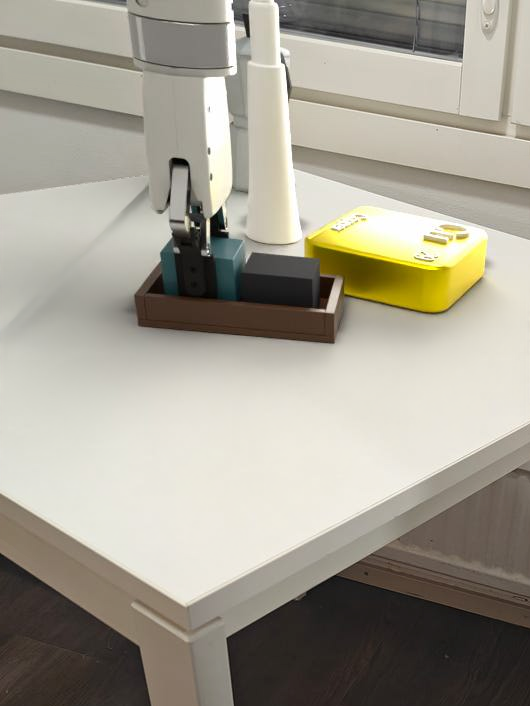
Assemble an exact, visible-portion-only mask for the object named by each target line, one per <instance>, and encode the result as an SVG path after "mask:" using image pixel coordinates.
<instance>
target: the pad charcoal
mask: <svg viewBox="0 0 530 706" xmlns="http://www.w3.org/2000/svg"><path fill="white" fill-rule="evenodd" d="M241 279H242V294H243V302H248V303H259V304H270V305H281V306H292V307H303V308H314V309H318V308H319V305H320V259H318V258H307V257H305V256H295V255H286V254H285V255H284V254H276V253H275V254H274V253H266V252H256V251H255V252H254V251H252V252H251V254H250V256H249V257H248V259H247V261H246V265H245V266H244V268H243V270H242V272H241Z"/></svg>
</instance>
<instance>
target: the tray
mask: <svg viewBox="0 0 530 706" xmlns="http://www.w3.org/2000/svg"><path fill="white" fill-rule="evenodd" d="M133 299H134V305H135V312H136V319H137V325H138V326H139V327H147V328H148V327H150V328H159V329H160V328H161V329H171V330H183V331H195V332H205V333H206V332H207V333H218V334H226V335H227V334H229V335H239V336H240V335H241V336H249V337H261V338H262V337H263V338H272V339H273V338H274V339H283V340H284V339H285V340H296V341H306V342H307V341H308V342H317V343H330V344H335V342H336V337H337V334H338V329H339V326H340V322H341V319H342V314H343V309H344V307H345V294H344V276H341V275H330V274H320V305H319V308H318V309H314V308H303V307H292V306H281V305H270V304H259V303H248V302H243V295H242V297H241V299H240V301H239V302H237V301H226V300H215V299H205V298H194V297H183V296H172V295H165V290H164V282H163V274H162V266H161V260H160V261H159V262H158V263H157V265H156V266H155V267H154V268H153V269H152V271H151V273H149V275H148V276H147V277H146V279H145V280H144V281H143V283H142V284H141V285H140V287H139V288H138V289H137V291H136V292H135V293H134V294H133Z"/></svg>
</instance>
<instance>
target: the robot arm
mask: <svg viewBox="0 0 530 706" xmlns="http://www.w3.org/2000/svg"><path fill="white" fill-rule="evenodd" d="M233 3H234V1H233V0H126V10H127V20H128V27H129V37H130V44H131V50H132V51H131V52H132V60H133V65H134V66H135V67H137V68H138V69H140V70H142V93H141V94H142V119H143V133H144V135H143V136H144V147H145V158H146V171H147V180H148V181H147V184H148V193H149V204H150V207H151V209H152V210H153V212H154V213H155V214H157V215H163V214H164V213H165V212H166V211H167V210H168V208H169V212H168V213H169V215H168V224H169V229H170V230H171V238H172V237H173V251H174V259H175V267H176V276H177V285H178V294H179V296H183V297H194V298H205V299H215V300H218V289H217V277H216V265H215V254H210V236H211V237H221V238H230V231H228V226H229V223H228V222H229V220H228V213H227V206H226V200H227V198H228V197H229V196H230V194H231V192H232V189H233V188H232V155H231V141H230V128H229V124H230V118H229V117H230V116H229V110H228V105H227V97H226V95H227V92H226V88H225V79H224V77H225V76H228V75H230V76H231V75H234V74H236V73H237V67H236V50H235V39H236V38H235V37H236V35H235V34H236V33H235V22H234V4H233ZM190 211H191V212H190ZM192 223H193V226H192Z"/></svg>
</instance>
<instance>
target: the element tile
mask: <svg viewBox="0 0 530 706" xmlns="http://www.w3.org/2000/svg"><path fill="white" fill-rule="evenodd" d="M487 246H488V235H487V233H486V232H485V230H484V229H481V228H476V227H473V226H467V225H464V224H460V223H453V222H448V221H444V220H437V219H432V218H428V217H423V216H418V215H413V214H408V213H403V212H398V211H393V210H388V209H384V208H379V207H373V206H366V205H365V206H360V207H357V208H354V209H353V210H351V211H348V212H346V213H345V214H343V215H342V216H340V217H338V218H335V219H334V220H332V221H330V222H328V223H327V224H325V225H324V226H321V227H320V228H318V229H316V230H315V231H312V232H311V233H309V234H307V235H306V236H305V237H304V241H303V249H304V250H303V251H304V252H303V253H304V257H307V258H318V259H320V274H330V275H341V276H344V296H349V297H354V298H357V299H358V298H359V299H363V300H367V301H372V302H377V303H381V304H386V305H389V306H395V307H399V308H403V309H408V310H412V311H417V312H421V313H431V314H435V313H441V312H444V311H446V310H448V309H449V308H451V306H453V305H454V304H455V303H456V302H457V301H458V300H459V299H460V298H461V297H462V296H463V295H464V294H466V292H467V291H468V290H470V289H471V288H472V287H473V286H474V285H475V284H476V283H477V282H478V281H479V280H480V279H481V278H482V277H483V276H484V274H485V265H486V256H487Z"/></svg>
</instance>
